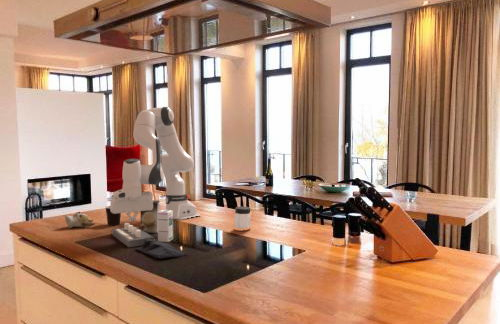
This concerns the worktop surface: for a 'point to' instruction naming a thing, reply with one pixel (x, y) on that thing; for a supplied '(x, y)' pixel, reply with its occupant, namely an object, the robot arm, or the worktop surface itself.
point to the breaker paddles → (132, 230)
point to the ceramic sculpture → (78, 220)
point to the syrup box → (165, 225)
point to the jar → (242, 217)
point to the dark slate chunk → (159, 249)
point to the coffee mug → (112, 217)
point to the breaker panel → (130, 237)
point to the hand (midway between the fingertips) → (132, 220)
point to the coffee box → (150, 219)
